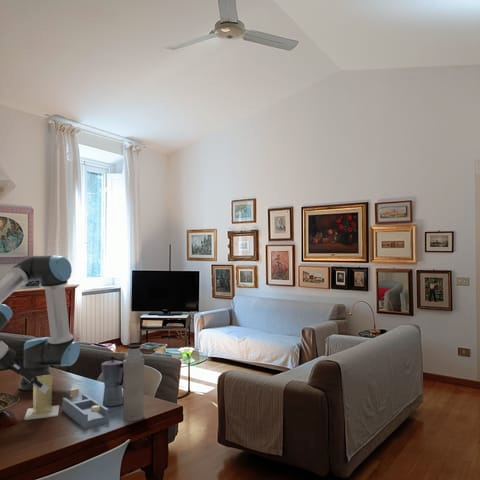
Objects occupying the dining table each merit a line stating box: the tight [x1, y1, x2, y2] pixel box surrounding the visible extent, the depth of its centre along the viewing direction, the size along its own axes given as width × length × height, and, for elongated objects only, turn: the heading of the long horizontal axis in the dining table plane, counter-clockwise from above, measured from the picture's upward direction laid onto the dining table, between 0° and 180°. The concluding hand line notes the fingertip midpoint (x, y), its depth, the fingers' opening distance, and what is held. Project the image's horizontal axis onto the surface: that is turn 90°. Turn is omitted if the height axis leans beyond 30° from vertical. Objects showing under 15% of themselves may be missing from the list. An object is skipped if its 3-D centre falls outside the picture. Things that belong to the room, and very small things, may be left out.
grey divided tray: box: [62, 387, 110, 429], centre depth 171 cm, size 25×9×8 cm, turn 40°
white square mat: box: [23, 405, 60, 421], centre depth 174 cm, size 12×12×1 cm
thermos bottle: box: [122, 344, 145, 422], centre depth 170 cm, size 8×8×28 cm
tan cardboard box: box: [32, 375, 53, 415], centre depth 175 cm, size 4×6×14 cm, turn 131°
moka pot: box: [100, 356, 123, 407], centre depth 185 cm, size 10×15×20 cm, turn 55°
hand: (41, 386), depth 174 cm, fingers open, 13 cm apart
